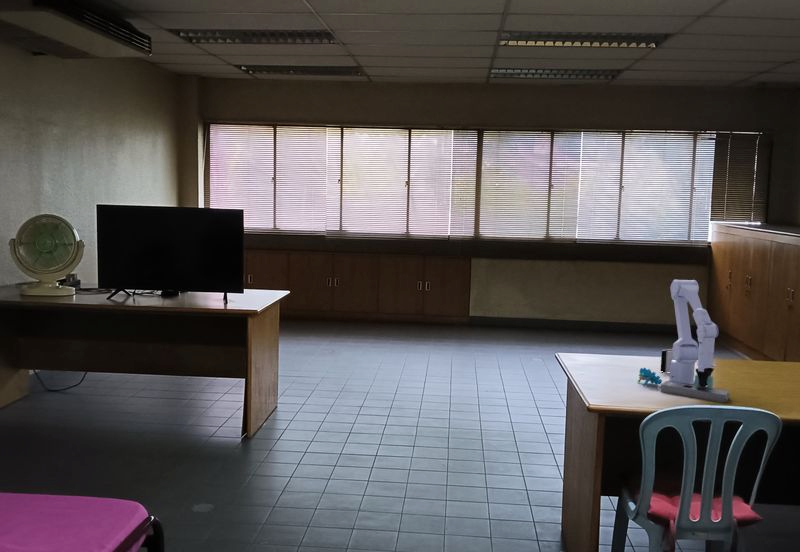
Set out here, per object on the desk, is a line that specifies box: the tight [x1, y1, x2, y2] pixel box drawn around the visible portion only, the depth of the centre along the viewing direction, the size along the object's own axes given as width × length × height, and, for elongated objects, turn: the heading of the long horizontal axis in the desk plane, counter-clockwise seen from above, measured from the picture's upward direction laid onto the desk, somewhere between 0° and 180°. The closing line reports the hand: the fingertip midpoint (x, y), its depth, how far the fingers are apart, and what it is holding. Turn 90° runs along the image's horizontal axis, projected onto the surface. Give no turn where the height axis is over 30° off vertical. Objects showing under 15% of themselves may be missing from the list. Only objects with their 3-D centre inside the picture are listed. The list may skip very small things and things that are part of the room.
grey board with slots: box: [660, 380, 731, 404], centre depth 273 cm, size 24×8×3 cm, turn 54°
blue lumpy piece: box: [637, 367, 663, 386], centre depth 287 cm, size 11×6×10 cm
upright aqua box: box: [694, 374, 714, 389], centre depth 280 cm, size 6×3×6 cm, turn 54°
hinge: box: [660, 348, 675, 373], centre depth 315 cm, size 14×5×10 cm, turn 135°
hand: (703, 385), depth 280 cm, fingers closed on upright aqua box, 3 cm apart
